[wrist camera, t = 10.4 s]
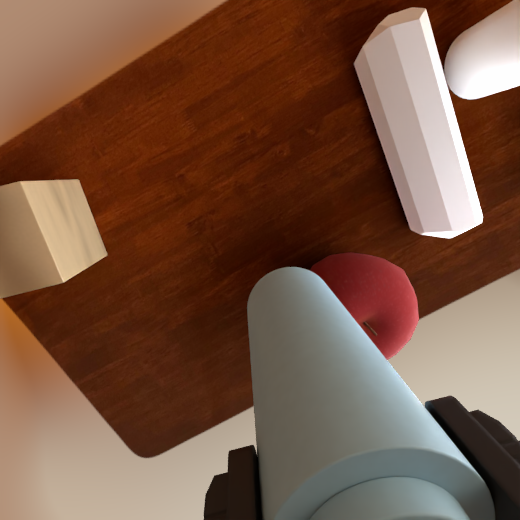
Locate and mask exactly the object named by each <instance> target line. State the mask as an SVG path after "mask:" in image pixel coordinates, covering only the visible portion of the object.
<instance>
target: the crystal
mask: <svg viewBox="0 0 520 520" xmlns="http://www.w3.org/2000/svg"><path fill="white" fill-rule="evenodd" d="M354 66H355V69H356V72H357V75H358V78H359V81H360V84H361V87H362V89H363V92H364V95H365V98H366V101H367V104H368V107H369V110H370V113H371V116H372V119H373V122H374V125H375V127H376V130H377V133H378V136H379V139H380V142H381V145H382V148H383V151H384V154H385V157H386V160H387V162H388V165H389V168H390V171H391V174H392V177H393V180H394V183H395V186H396V189H397V192H398V195H399V198H400V200H401V203H402V206H403V209H404V212H405V215H406V218H407V221H408V224H409V227H410V230H412V231H414V232H416V233H418V234H421V235H428V236H435V237H442V238H449V239H450V238H452V237H454V236H457V235H459V234H461V233H463V232H465V231H467V230H469V229H471V228H473V227H475V226H477V225H478V224H480V223H482V219H483V215H482V211H481V208H480V204H479V200H478V197H477V193H476V190H475V186H474V182H473V179H472V175H471V171H470V168H469V164H468V160H467V157H466V153H465V149H464V146H463V142H462V138H461V135H460V131H459V127H458V124H457V120H456V116H455V113H454V109H453V106H452V102H451V98H450V95H449V91H448V87H447V84H446V80H445V76H444V73H443V69H442V65H441V62H440V58H439V54H438V51H437V47H436V43H435V40H434V36H433V32H432V29H431V25H430V21H429V18H428V14H427V11H426V8H415V7H411V8H408V9H405V10H402V11H399V12H396V13H393V14H390V15H388V16H387V17H386V18H385V19H384V20H383V21H381V22H380V23H379V24H378V25H377V27H376V28H375V30H374V31H373V33H372V34H371V35H370V37H369V38H368V40H367V41H366V42H365V44H364V45H363V47H362V49H361V51H360V53H359V54H358V56H357V58H356V60H355V62H354Z"/></svg>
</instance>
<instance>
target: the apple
mask: <svg viewBox="0 0 520 520" xmlns="http://www.w3.org/2000/svg"><path fill="white" fill-rule="evenodd" d="M310 271H312V272H314V273H315V274H316V275H318V276H319V277H320V278H321V279H322V280H323V281H324V282H325V283H326V285H327V286H328V287H329V288H330V290H331V291H332V292H333V293H334V295H335V296H336V297H337V298H338V299H339V301H340V302H341V303H342V304H343V306H344V307H345V308H346V309H347V311H348V312H349V313H350V314H351V316H352V317H353V318H354V319H355V321H356V322H357V323H358V324H359V326H360V327H361V328H362V329H363V331H364V332H365V333H366V334H367V336H368V337H369V338H370V339H371V341H372V342H373V343H374V344H375V346H376V347H377V348H378V349H379V351H380V352H381V353H382V354H383V356H384V357H385V358H386V359H387V360H388V359H390V358H391V357H393V356H394V355H396V354H397V353H398V352H399V351H400V350H401V349H402V348H403V346H404V345H406V343H407V342H408V341H409V340H410V339H411V337H412V335H413V332H414V330H415V328H416V326H417V323H418V321H419V317H418V304H417V298H416V295H415V292H414V289H413V287H412V285H411V283H410V281H409V279H408V278H407V276H406V274H405V272H404V270H403V269H401V268H399V267H398V266H396V265H394V264H392V263H390V262H389V261H387V260H385V259H383V258H379V257H375V256H371V255H366V254H359V253H352V252H348V253H341V254H335V255H329V256H328V257H326V258H324V259H323V260H321V261H319V262H317V263H315V264H314V265H313V266H312V267H311V269H310Z"/></svg>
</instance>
